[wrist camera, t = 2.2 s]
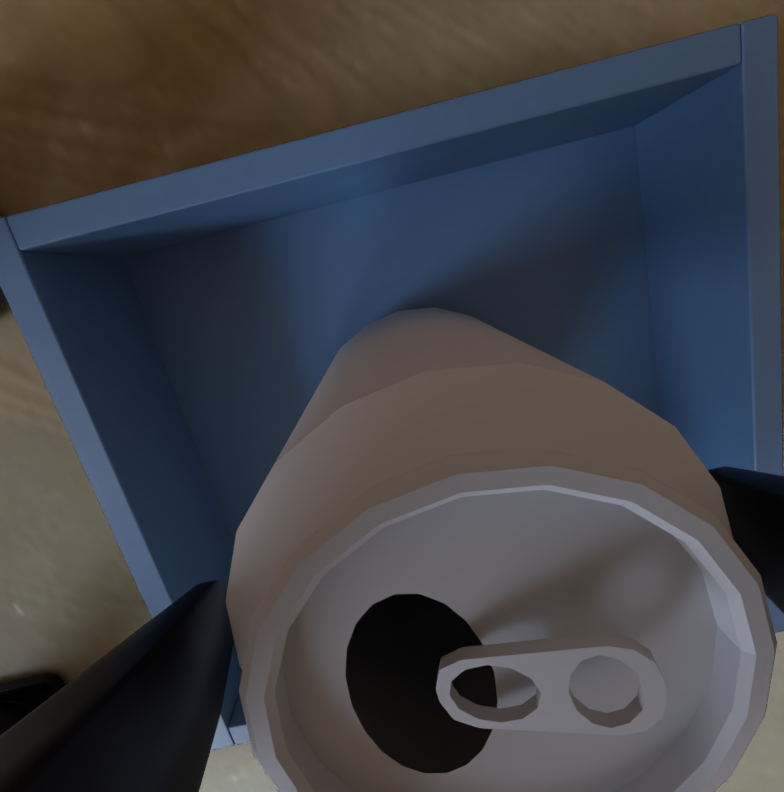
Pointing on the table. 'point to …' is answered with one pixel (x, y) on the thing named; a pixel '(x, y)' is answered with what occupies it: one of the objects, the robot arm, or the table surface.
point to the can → (491, 582)
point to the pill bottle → (2, 295)
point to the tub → (414, 281)
